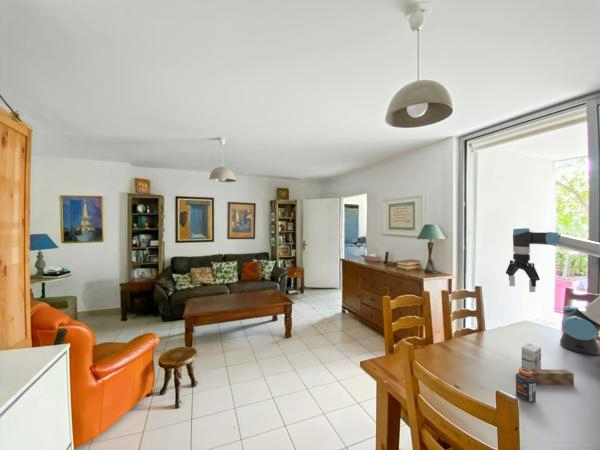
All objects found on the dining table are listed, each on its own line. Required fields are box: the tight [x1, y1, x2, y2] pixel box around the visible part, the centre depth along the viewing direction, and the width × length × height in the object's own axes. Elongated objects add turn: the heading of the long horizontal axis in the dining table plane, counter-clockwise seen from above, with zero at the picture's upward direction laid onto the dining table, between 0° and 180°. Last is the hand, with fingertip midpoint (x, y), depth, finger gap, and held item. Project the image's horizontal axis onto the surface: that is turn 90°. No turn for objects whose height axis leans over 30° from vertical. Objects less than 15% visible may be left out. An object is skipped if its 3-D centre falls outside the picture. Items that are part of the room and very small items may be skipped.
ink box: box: [521, 342, 542, 369], centre depth 118 cm, size 8×5×12 cm, turn 121°
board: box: [528, 368, 575, 386], centre depth 109 cm, size 19×3×5 cm, turn 89°
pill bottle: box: [515, 367, 537, 404], centre depth 99 cm, size 6×6×11 cm
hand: (521, 288), depth 148 cm, fingers open, 13 cm apart
